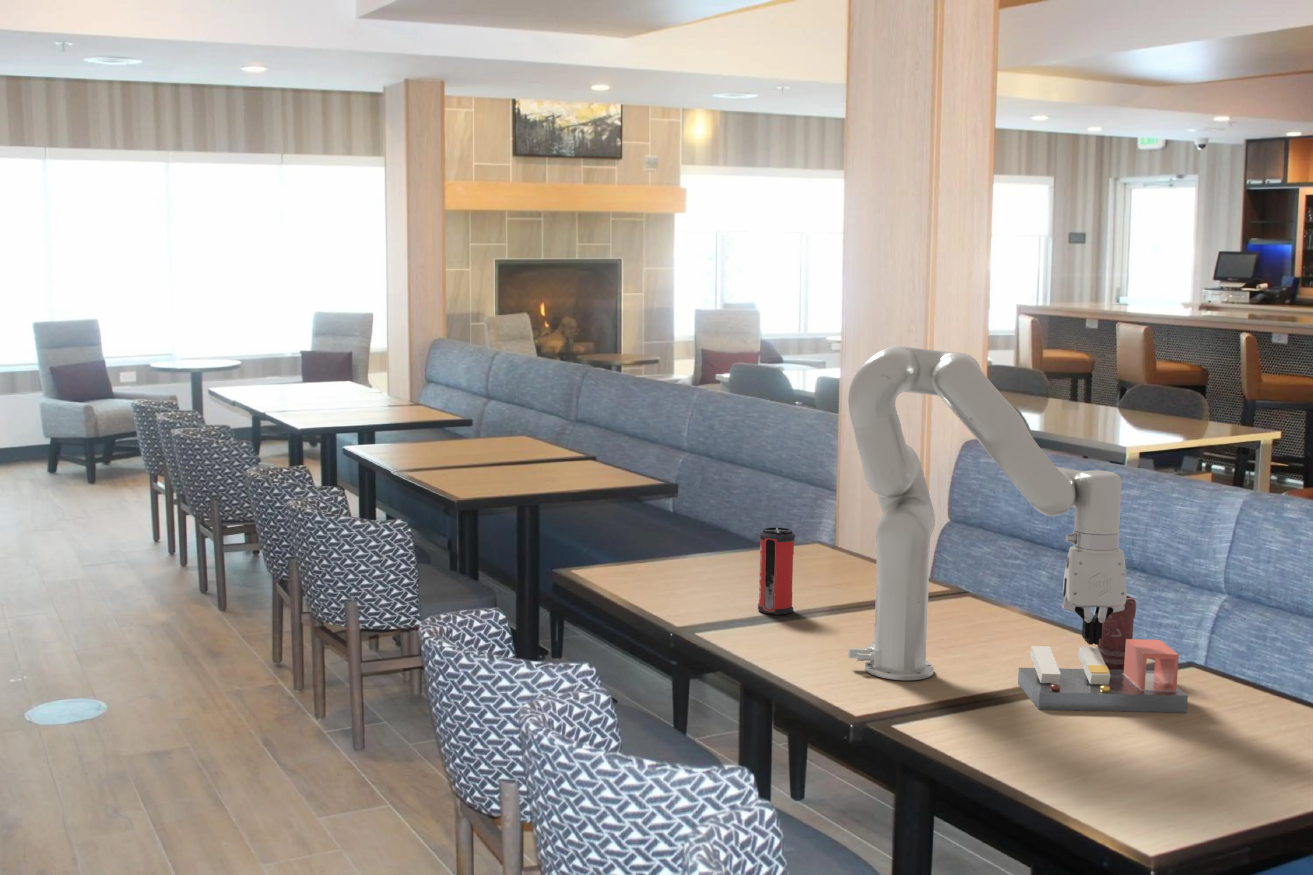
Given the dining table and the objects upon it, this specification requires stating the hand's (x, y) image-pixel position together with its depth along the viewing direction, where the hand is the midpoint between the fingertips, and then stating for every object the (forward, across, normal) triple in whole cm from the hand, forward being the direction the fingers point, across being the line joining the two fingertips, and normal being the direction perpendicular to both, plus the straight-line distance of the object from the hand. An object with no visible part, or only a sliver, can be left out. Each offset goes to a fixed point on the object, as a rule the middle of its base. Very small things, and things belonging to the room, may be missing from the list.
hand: (1091, 642), depth 231 cm
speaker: (+8, -52, +51) cm, 74 cm away
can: (+9, +9, +13) cm, 18 cm away
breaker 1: (+3, -9, -3) cm, 10 cm away
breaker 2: (+3, 0, -3) cm, 4 cm away
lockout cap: (+6, +9, -4) cm, 11 cm away
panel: (+9, +1, -4) cm, 10 cm away
